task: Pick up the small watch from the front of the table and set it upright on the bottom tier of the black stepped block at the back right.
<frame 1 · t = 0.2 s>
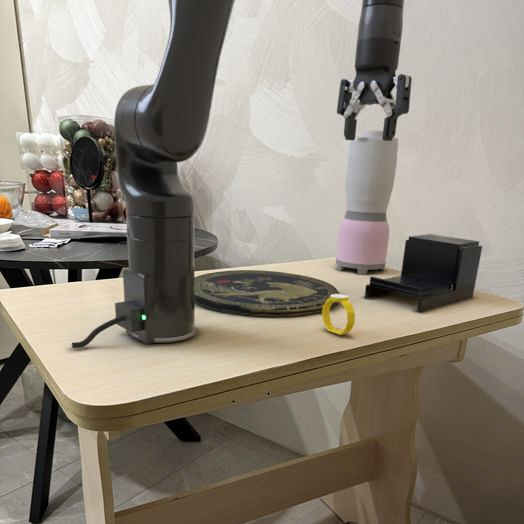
hand: (368, 140, 96), 29 cm above the table, tool pointing down, fingers open, 8 cm apart
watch: (336, 334, 81), on the table
decorative plate: (261, 296, 102), on the table
blender: (362, 269, 131), on the table
black stepped block: (422, 296, 106), on the table
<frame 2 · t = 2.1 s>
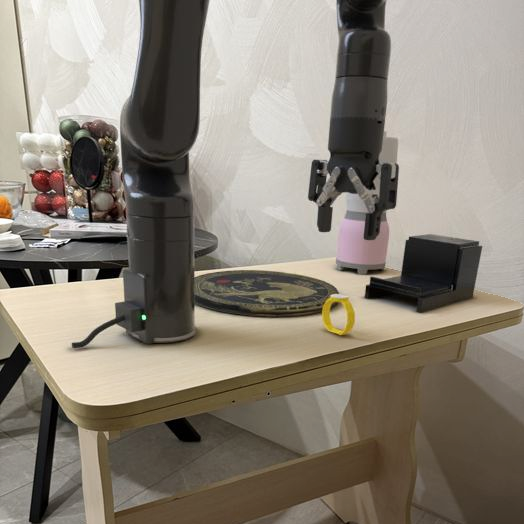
hand: (346, 235, 77), 15 cm above the table, tool pointing down, fingers open, 8 cm apart
nothing on the table moved.
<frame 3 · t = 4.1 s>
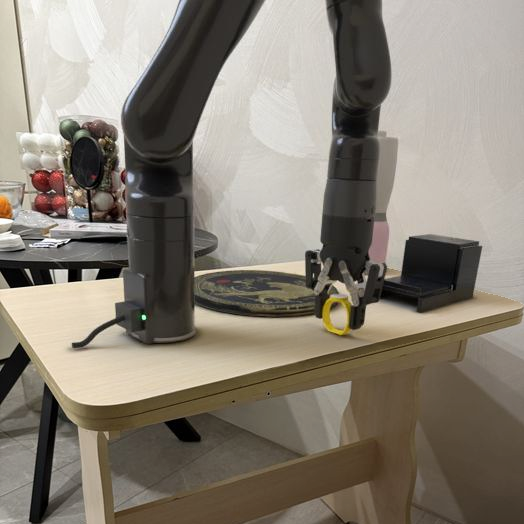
hand: (337, 322, 81), 2 cm above the table, tool pointing down, fingers closed on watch, 6 cm apart
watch: (336, 334, 81), on the table, touching gripper
everything else where it was.
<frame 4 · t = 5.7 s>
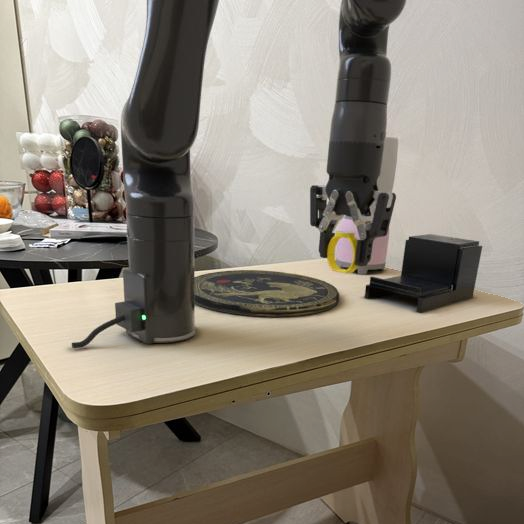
hand: (343, 261, 77), 11 cm above the table, tool pointing down, fingers closed on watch, 6 cm apart
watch: (341, 273, 78), point 9 cm above the table, touching gripper
everything else where it was.
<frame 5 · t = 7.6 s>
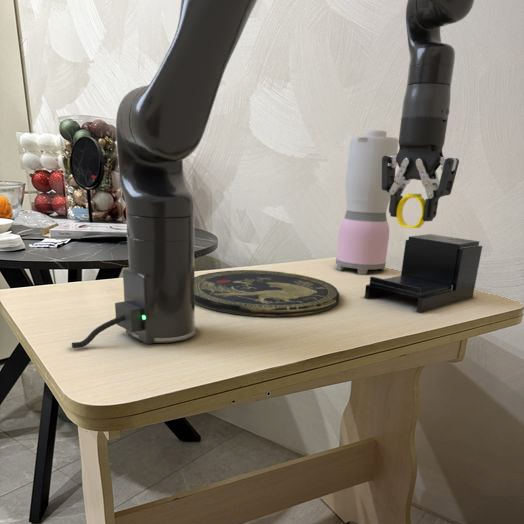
hand: (411, 218, 93), 16 cm above the table, tool pointing down, fingers closed on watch, 6 cm apart
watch: (409, 229, 93), point 14 cm above the table, touching gripper
everything else where it was.
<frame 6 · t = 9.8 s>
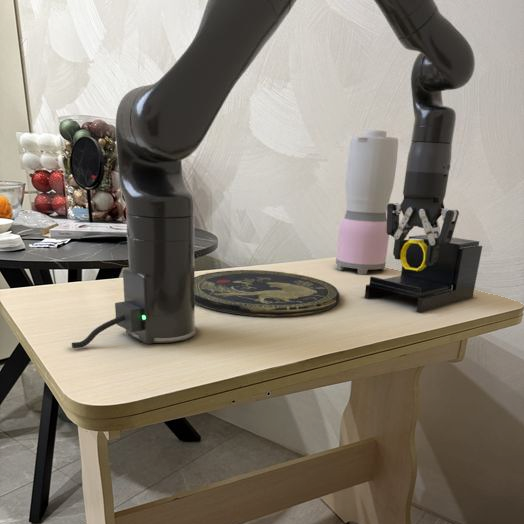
hand: (413, 261, 100), 8 cm above the table, tool pointing down, fingers closed on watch, 6 cm apart
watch: (412, 271, 101), point 6 cm above the table, touching gripper
everything else where it was.
when the fingers open (5 cm above the table, at t = 11.1 s): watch stays where it is, resting on black stepped block.
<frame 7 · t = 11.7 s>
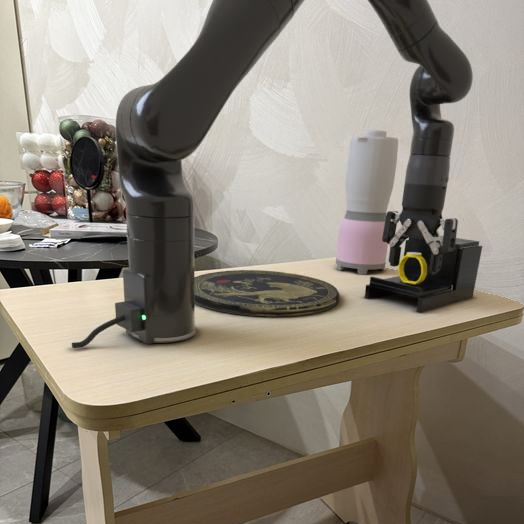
hand: (413, 269, 101), 6 cm above the table, tool pointing down, fingers open, 8 cm apart
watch: (410, 284, 102), point 3 cm above the table, touching black stepped block
everything else where it was.
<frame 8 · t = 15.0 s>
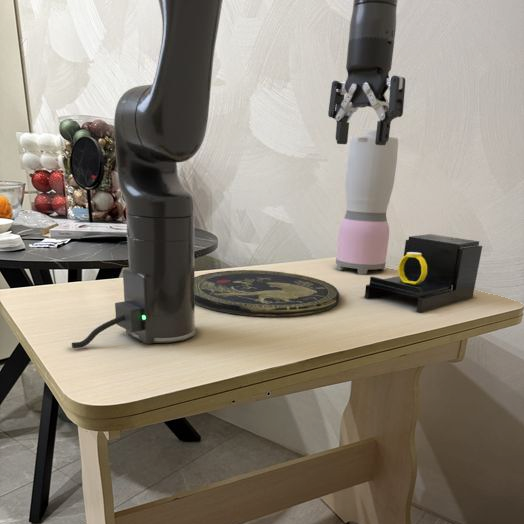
hand: (360, 144, 92), 28 cm above the table, tool pointing down, fingers open, 8 cm apart
nothing on the table moved.
at the end: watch inside the target area on the black stepped block (0.1 cm from its centre), point 3.2 cm above the black stepped block's base; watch tilted 0°; the gripper is holding nothing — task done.
